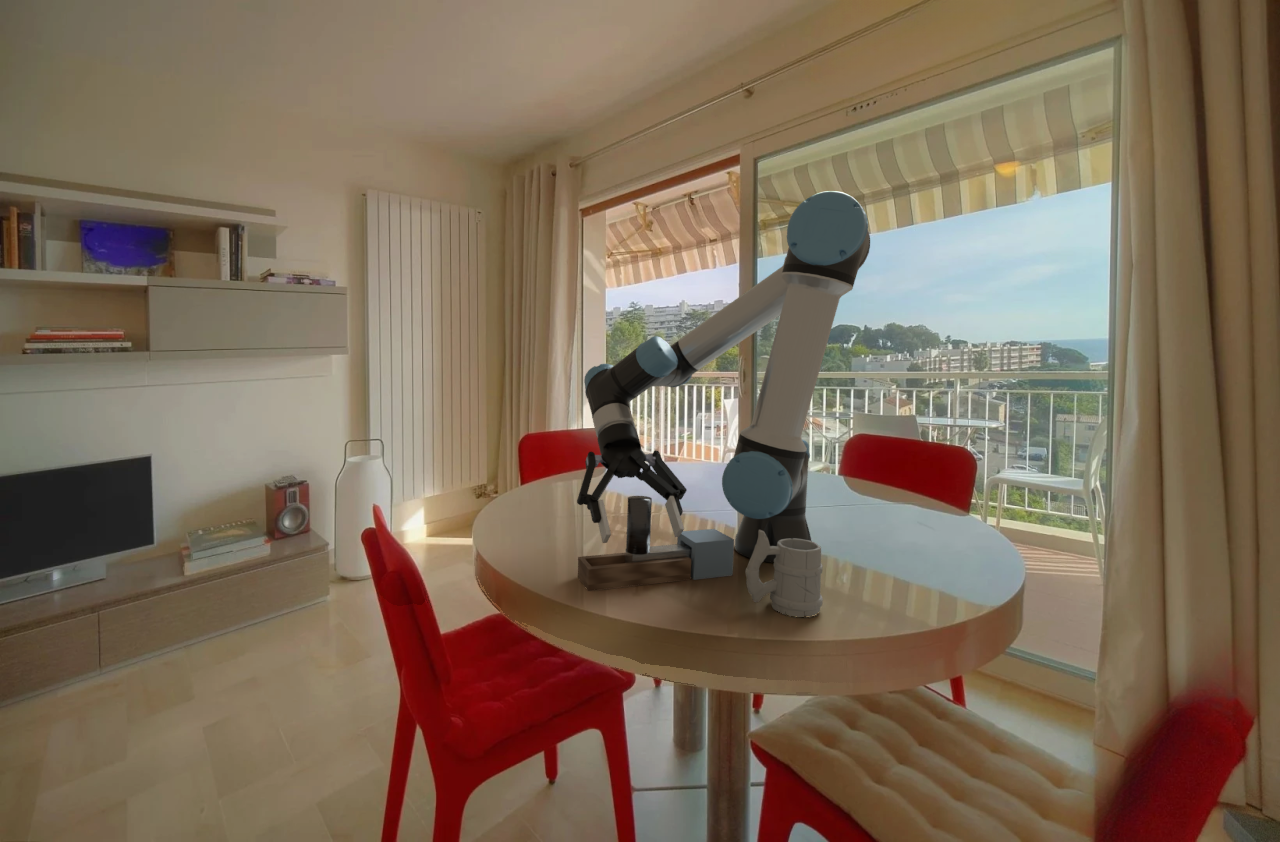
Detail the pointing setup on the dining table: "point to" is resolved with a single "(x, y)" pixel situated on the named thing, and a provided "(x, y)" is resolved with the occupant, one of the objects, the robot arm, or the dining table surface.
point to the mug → (788, 575)
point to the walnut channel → (629, 571)
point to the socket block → (709, 553)
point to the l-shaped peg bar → (647, 535)
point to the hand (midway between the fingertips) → (644, 536)
